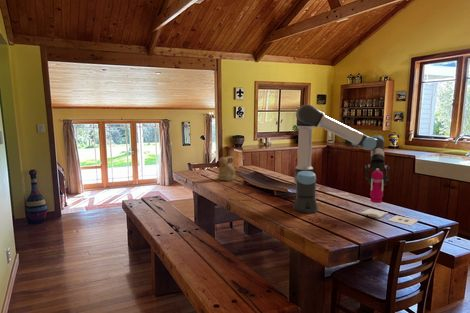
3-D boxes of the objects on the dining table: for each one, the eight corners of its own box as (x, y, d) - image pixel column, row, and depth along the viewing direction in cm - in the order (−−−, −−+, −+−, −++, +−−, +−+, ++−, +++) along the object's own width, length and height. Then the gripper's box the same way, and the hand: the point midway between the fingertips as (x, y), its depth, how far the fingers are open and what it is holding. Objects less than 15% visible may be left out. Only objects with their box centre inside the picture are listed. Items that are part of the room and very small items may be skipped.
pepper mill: (367, 200, 191) (368, 167, 189) (378, 199, 192) (380, 167, 189) (373, 203, 184) (374, 169, 182) (385, 203, 185) (387, 169, 182)
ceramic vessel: (213, 180, 289) (213, 152, 286) (226, 176, 305) (226, 150, 302) (228, 182, 279) (228, 154, 276) (241, 178, 295) (241, 151, 292)
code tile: (411, 225, 169) (411, 225, 169) (387, 220, 178) (387, 220, 178) (418, 220, 177) (418, 220, 177) (396, 215, 186) (396, 215, 186)
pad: (380, 218, 181) (380, 216, 181) (361, 214, 189) (361, 212, 189) (387, 214, 189) (387, 212, 189) (369, 210, 197) (369, 208, 197)
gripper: (393, 161, 196) (393, 194, 183) (361, 160, 203) (360, 191, 190) (394, 154, 190) (395, 187, 177) (361, 153, 197) (360, 184, 184)
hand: (377, 189), depth 184 cm, fingers closed on pepper mill, 5 cm apart
